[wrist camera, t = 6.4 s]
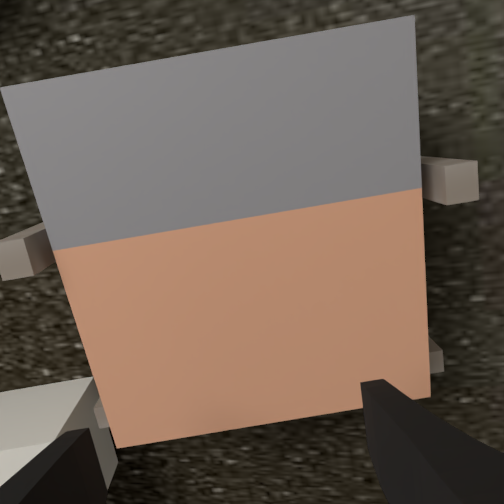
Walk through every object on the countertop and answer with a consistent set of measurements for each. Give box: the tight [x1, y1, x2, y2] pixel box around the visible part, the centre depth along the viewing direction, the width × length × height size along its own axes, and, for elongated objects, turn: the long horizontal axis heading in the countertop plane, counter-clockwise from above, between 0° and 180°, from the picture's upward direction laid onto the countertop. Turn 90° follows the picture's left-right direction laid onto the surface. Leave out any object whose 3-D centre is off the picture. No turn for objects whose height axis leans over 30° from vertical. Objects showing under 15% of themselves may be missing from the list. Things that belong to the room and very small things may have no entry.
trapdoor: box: [0, 15, 431, 448], centre depth 16 cm, size 13×12×3 cm
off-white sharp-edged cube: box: [0, 377, 118, 490], centre depth 20 cm, size 5×5×5 cm
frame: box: [0, 156, 479, 429], centre depth 17 cm, size 15×15×6 cm
